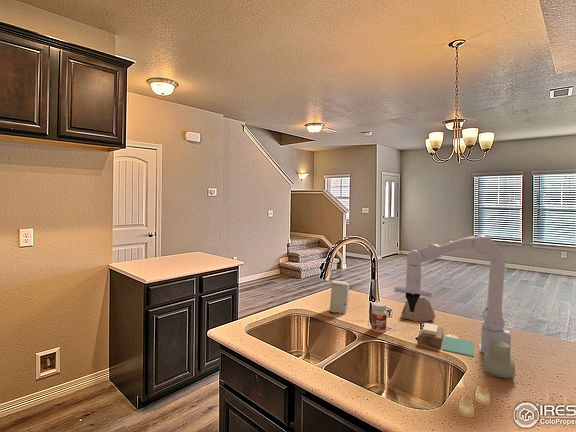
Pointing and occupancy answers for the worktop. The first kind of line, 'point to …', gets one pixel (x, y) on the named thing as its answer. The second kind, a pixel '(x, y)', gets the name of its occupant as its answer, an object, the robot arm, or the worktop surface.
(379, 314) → the pill bottle
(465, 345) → the mat
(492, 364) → the air freshener
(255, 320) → the worktop surface
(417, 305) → the pumice stone
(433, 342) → the deck
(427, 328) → the white flat block
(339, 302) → the skincare box
